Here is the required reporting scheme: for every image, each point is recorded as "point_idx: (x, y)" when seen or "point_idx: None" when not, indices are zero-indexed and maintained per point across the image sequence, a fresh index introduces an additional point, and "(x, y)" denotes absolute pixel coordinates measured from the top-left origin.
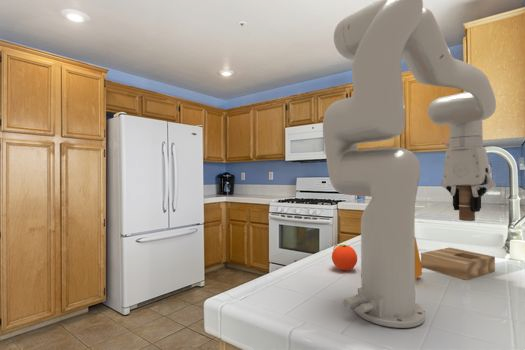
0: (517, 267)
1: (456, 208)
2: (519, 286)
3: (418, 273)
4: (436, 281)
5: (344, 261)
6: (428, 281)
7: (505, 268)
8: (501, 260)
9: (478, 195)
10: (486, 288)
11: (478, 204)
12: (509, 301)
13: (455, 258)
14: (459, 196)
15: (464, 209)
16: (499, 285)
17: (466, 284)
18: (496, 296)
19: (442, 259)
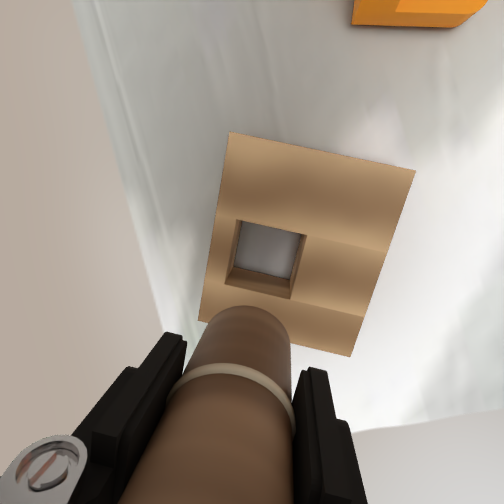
0: None
1: (304, 373)
2: (128, 196)
3: None
4: (298, 33)
5: None
6: (318, 7)
7: None
8: None
9: (22, 460)
10: (174, 98)
11: (109, 392)
12: (101, 25)
13: (281, 189)
14: (273, 487)
15: (233, 350)
16: (161, 162)
17: (223, 88)
18: (134, 41)
19: (317, 150)
